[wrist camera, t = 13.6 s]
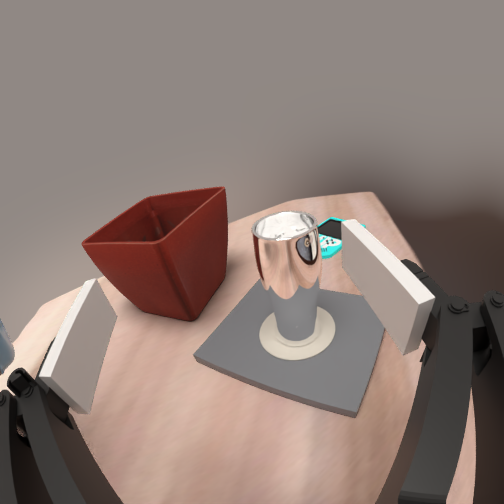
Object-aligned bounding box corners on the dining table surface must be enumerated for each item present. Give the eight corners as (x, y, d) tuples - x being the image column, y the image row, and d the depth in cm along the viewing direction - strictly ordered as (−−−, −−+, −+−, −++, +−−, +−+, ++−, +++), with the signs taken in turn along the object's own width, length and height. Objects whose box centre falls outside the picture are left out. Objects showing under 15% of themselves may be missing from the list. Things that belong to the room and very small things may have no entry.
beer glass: (260, 333, 35) (235, 230, 28) (295, 304, 38) (282, 205, 31) (299, 359, 30) (286, 248, 23) (335, 324, 33) (332, 217, 26)
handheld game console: (287, 250, 57) (286, 244, 56) (330, 220, 65) (330, 215, 64) (325, 264, 50) (325, 257, 49) (366, 229, 57) (366, 224, 57)
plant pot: (201, 341, 38) (157, 241, 30) (120, 320, 46) (78, 243, 38) (248, 268, 53) (227, 185, 45) (172, 264, 61) (147, 196, 53)
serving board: (196, 361, 35) (192, 353, 34) (261, 285, 47) (259, 277, 47) (355, 417, 23) (356, 411, 22) (389, 307, 35) (391, 298, 35)
